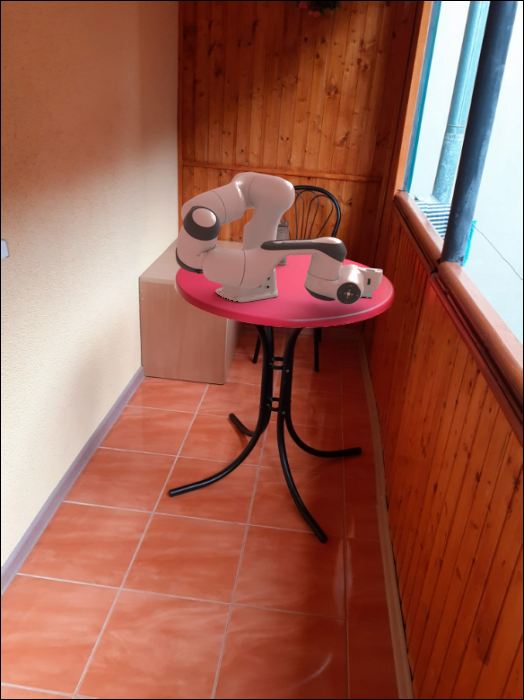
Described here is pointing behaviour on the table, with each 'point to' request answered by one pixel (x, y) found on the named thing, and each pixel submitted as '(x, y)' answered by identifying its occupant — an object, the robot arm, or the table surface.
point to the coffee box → (282, 236)
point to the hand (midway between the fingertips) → (352, 267)
